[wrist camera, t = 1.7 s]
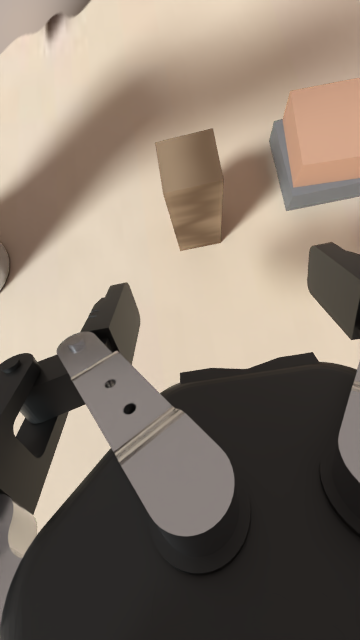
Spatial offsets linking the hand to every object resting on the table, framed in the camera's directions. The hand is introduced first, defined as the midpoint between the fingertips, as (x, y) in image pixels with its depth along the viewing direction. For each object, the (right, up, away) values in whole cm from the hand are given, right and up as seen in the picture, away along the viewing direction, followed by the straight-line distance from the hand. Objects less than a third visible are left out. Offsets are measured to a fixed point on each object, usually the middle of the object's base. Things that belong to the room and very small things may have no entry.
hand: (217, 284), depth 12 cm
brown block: (0, +9, +18) cm, 20 cm away
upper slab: (+13, +16, +15) cm, 25 cm away
